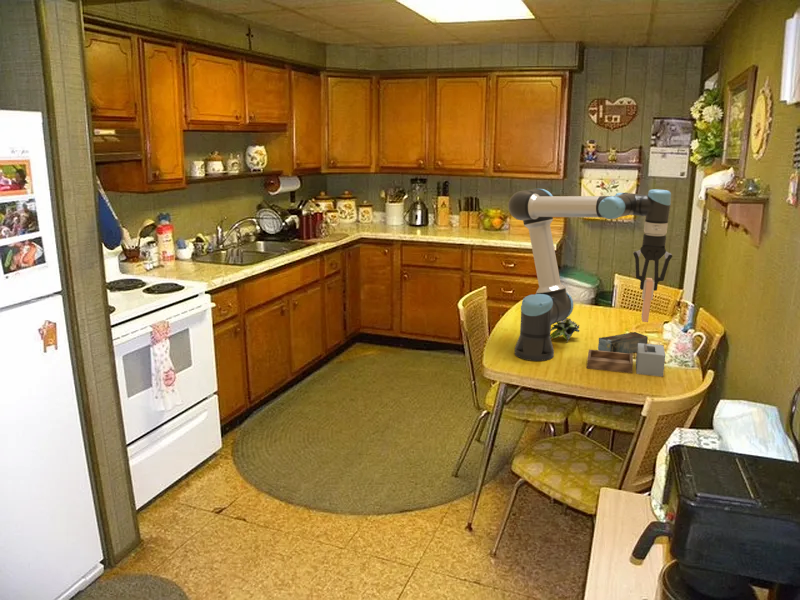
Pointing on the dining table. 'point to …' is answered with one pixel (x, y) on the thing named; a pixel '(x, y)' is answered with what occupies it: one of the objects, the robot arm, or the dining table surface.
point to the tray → (610, 361)
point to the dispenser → (650, 359)
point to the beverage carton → (622, 342)
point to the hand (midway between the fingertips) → (647, 298)
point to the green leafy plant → (564, 329)
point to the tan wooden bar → (647, 300)
